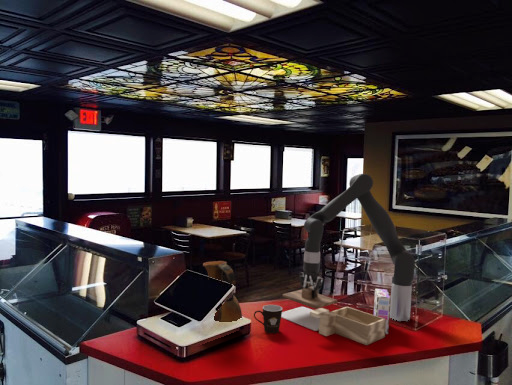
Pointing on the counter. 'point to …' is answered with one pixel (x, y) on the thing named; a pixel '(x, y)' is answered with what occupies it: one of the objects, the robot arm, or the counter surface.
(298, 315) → the mat
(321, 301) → the lid
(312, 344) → the counter surface
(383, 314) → the candy box
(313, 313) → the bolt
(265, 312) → the coffee mug
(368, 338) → the wooden box
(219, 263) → the ceramic pitcher
